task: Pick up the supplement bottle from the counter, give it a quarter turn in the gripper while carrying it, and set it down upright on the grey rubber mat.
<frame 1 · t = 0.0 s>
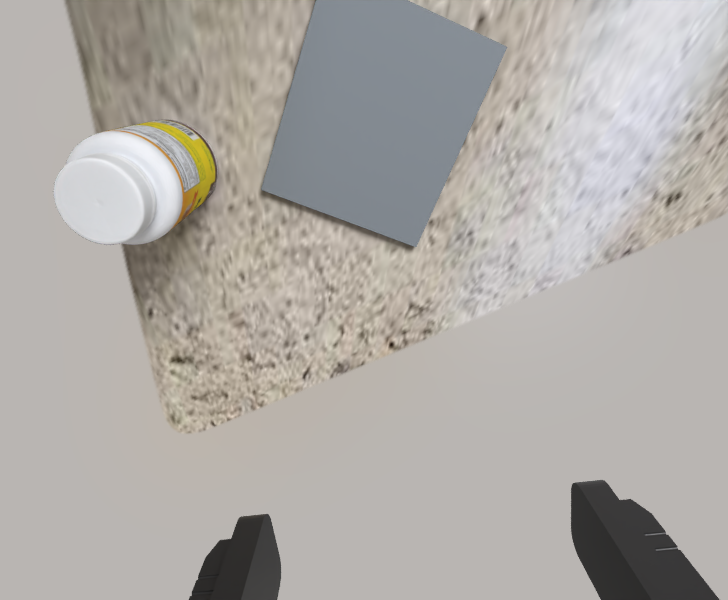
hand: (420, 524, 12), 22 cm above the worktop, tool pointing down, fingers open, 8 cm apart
mat: (376, 121, 29), on the worktop
supplement bottle: (178, 164, 30), on the worktop
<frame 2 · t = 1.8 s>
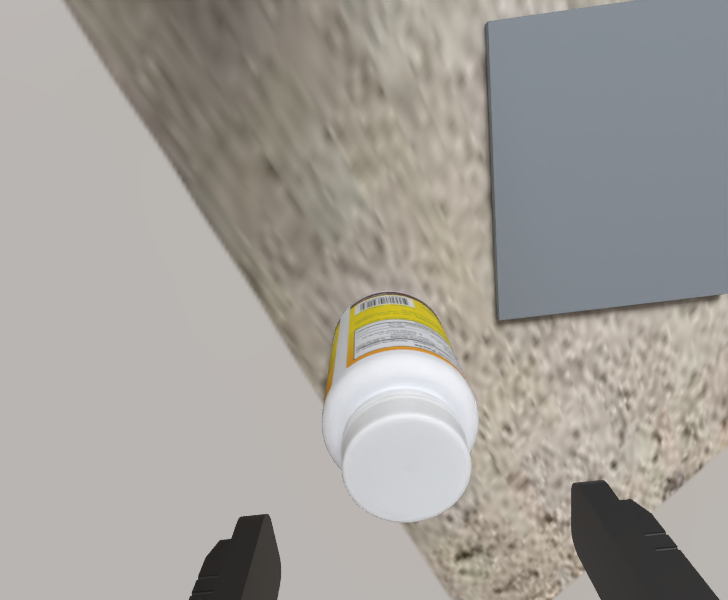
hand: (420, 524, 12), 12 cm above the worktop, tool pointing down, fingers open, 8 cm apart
mat: (613, 169, 21), on the worktop
supplement bottle: (388, 337, 24), on the worktop
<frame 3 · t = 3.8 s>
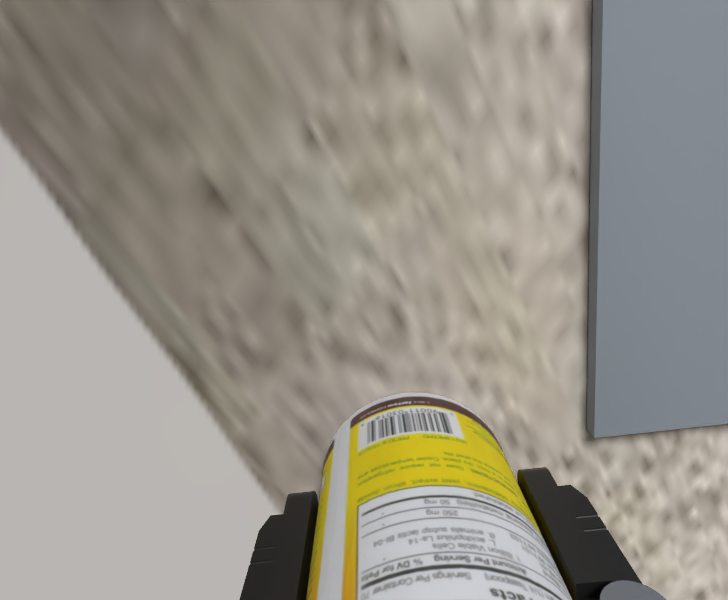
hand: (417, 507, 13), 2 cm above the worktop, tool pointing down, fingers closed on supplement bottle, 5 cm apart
supplement bottle: (411, 457, 15), on the worktop, touching gripper
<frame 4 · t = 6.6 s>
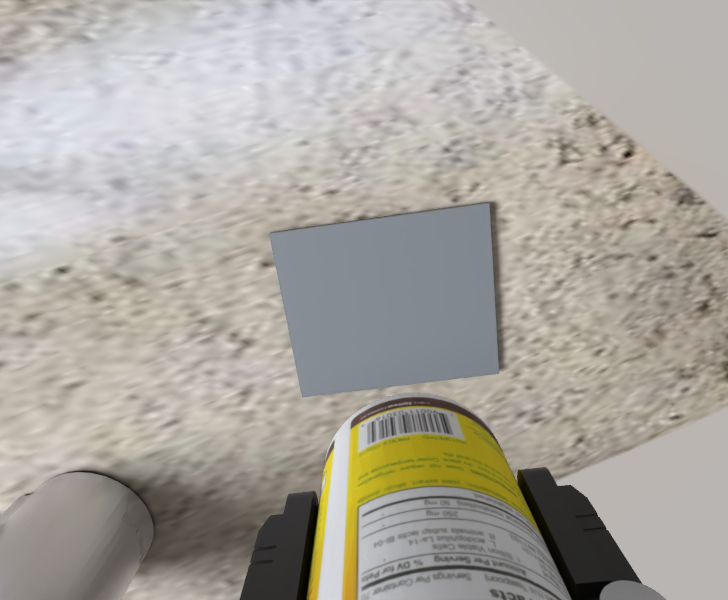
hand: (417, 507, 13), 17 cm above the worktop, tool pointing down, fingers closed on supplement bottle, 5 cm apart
mat: (389, 304, 29), on the worktop
supplement bottle: (411, 457, 15), point 15 cm above the worktop, touching gripper
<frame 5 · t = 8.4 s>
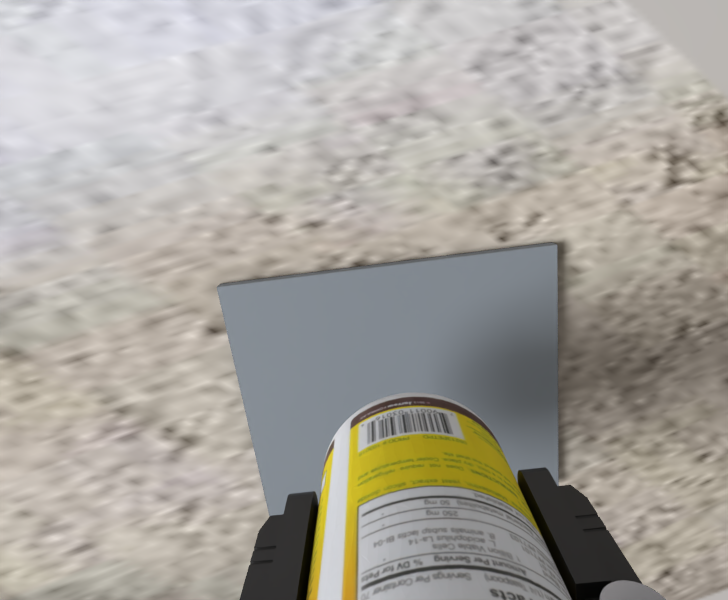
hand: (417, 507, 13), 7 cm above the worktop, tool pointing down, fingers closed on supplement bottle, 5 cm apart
mat: (398, 389, 20), on the worktop
supplement bottle: (411, 457, 15), point 5 cm above the worktop, touching gripper
when the fingers open (4 cm above the worktop, at t = 9.9 s): supplement bottle drops 2 cm, resting on mat.
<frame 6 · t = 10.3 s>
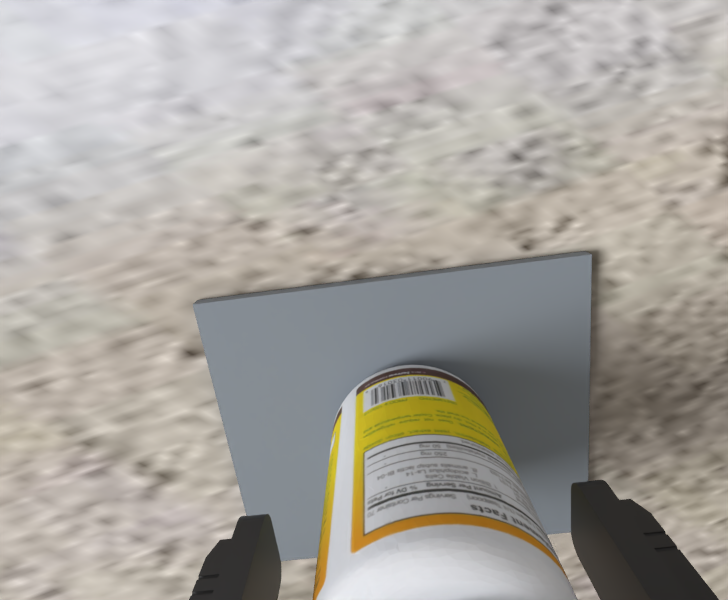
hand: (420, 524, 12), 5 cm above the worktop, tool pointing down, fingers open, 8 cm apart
mat: (404, 419, 17), on the worktop
supplement bottle: (410, 424, 17), resting on mat
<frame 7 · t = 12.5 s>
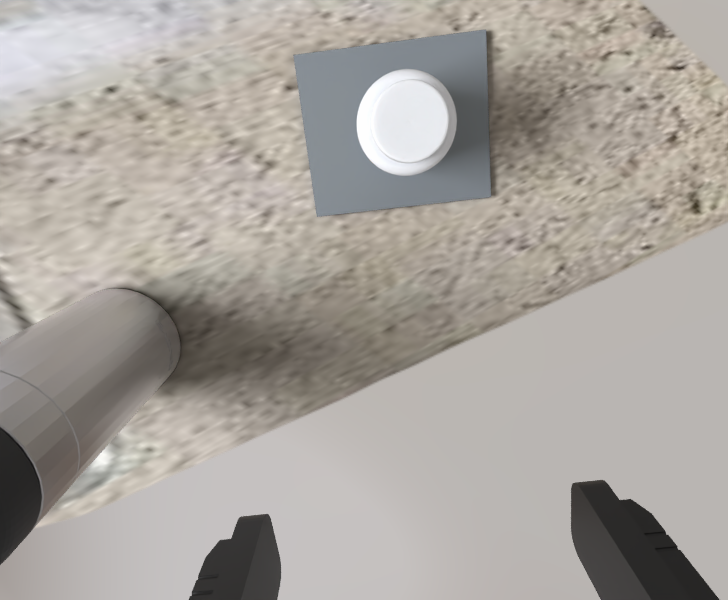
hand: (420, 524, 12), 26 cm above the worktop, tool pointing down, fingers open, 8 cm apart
mat: (395, 129, 33), on the worktop
supplement bottle: (398, 129, 33), resting on mat
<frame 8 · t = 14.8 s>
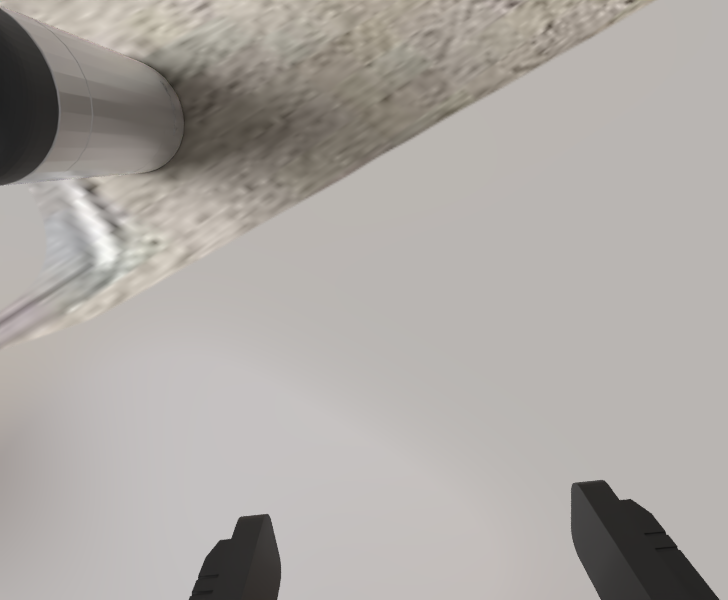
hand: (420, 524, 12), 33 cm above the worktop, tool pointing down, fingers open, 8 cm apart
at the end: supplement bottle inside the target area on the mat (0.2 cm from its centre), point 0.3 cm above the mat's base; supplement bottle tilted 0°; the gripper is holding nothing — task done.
